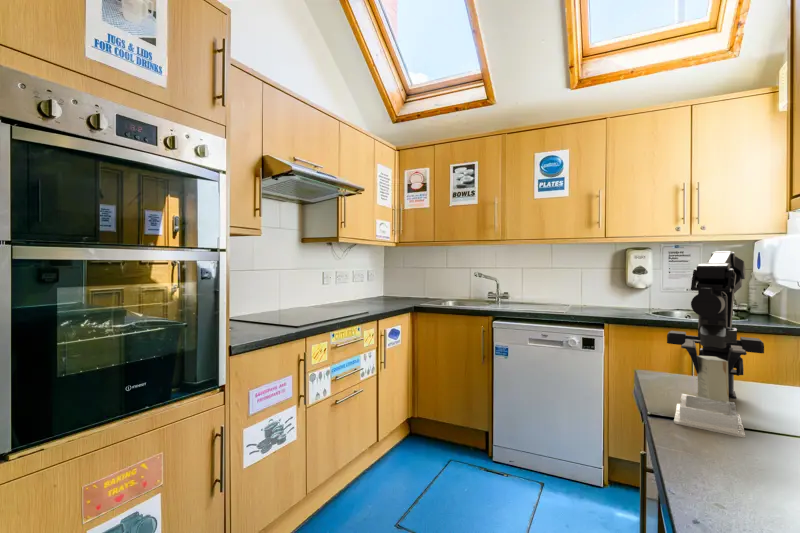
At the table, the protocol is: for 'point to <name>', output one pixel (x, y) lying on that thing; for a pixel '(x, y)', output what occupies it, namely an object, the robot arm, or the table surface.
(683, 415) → the square open tray
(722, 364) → the skincare box
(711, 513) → the table surface
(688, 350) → the robot arm
